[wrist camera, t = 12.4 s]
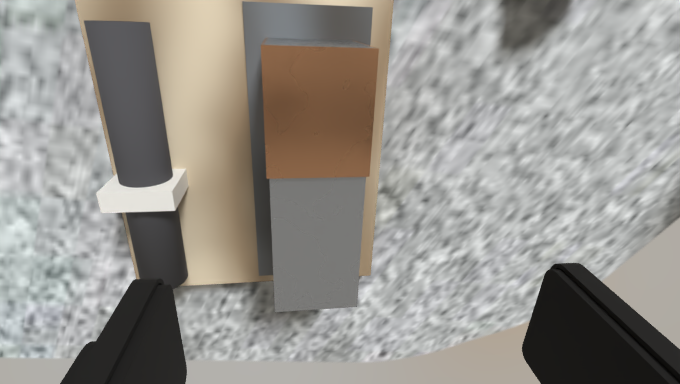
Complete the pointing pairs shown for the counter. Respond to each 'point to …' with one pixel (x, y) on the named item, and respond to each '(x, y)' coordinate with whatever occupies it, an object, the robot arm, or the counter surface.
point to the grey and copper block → (317, 165)
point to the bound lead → (139, 148)
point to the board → (236, 115)
